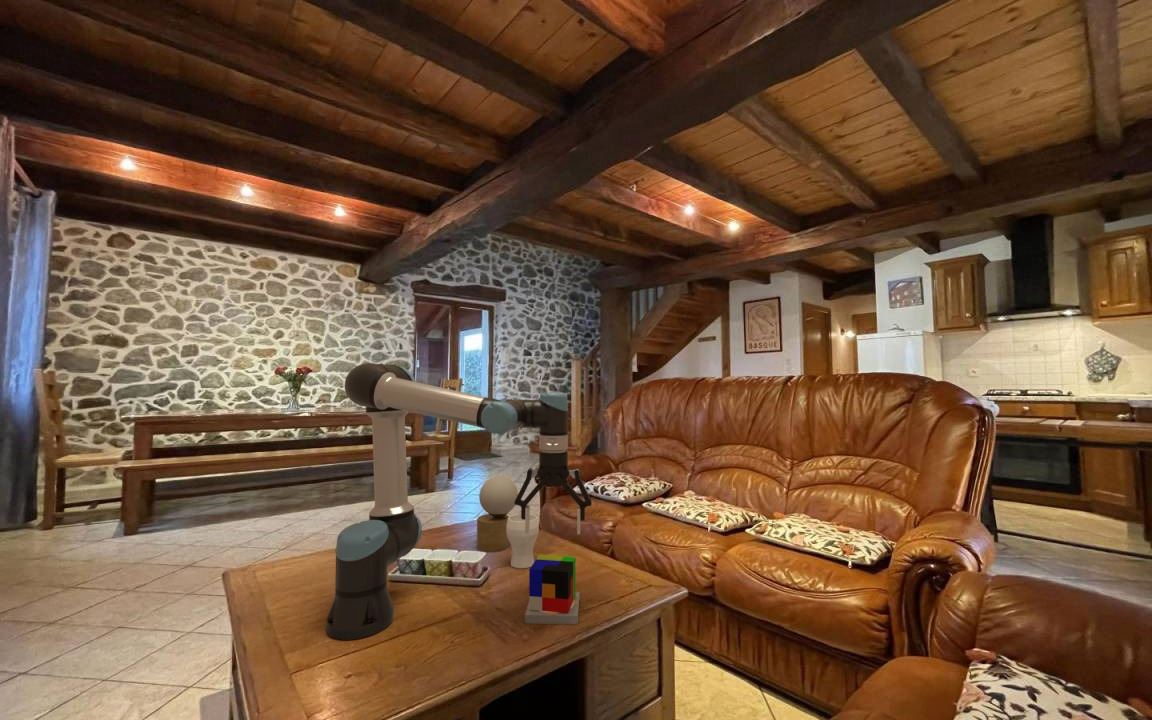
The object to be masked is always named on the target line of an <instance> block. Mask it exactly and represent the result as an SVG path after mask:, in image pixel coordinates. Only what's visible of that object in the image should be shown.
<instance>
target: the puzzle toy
mask: <svg viewBox="0 0 1152 720" xmlns="http://www.w3.org/2000/svg"><path fill="white" fill-rule="evenodd" d="M576 558H577V557H576V556H563V555H548V554H539V555H538V557H537V558H536V559H535V560H534V563H533V565H532V566H531V567H529V573H528V574H529V578H528V579H529V580H528V581H529V585H528V587H529V588H528V590H529V592H528V596H529V597H528V598H529V599H528V603H529V610H537V611H548V612H559V613H569V610H570V608H571V605H572V603H573V600H574V598H575V596H576V592H577V591H576V589H577V588H576V585H577V584H576V581H577V580H576V577H577V576H576V575H577V573H576V570H577V568H576V567H577V563H576V562H577V561H576Z"/></svg>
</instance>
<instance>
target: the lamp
mask: <svg viewBox="0 0 1152 720" xmlns="http://www.w3.org/2000/svg"><path fill="white" fill-rule="evenodd" d="M518 494H519V491H518V488H517V485H516V483H515V482H513V480H511V479H510V477H509V478H508V477H506V476H502V475H497V476H492V477H490V478H489V479H487V480H485V482H484V483H483V484H482V487H481V488H480V490H479V495H478V498H479V503H480V506H481V508H482V509H483V510H484V512H486V513H487V514H482V515H479V516H478V517H477V518H476V549H477V551H479V552H482V551H484V552H483V553H497V552H501V551H503V550H506V549H507V548H508V547H509V540H508V536H507V532H506V526H507V521H508V518H509V516H508V514H509V513H510V512H511V511H512V510H513V509H515V507H516V505H515V504H514V502H515V500H516V498H517V496H518Z"/></svg>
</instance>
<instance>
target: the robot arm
mask: <svg viewBox="0 0 1152 720" xmlns="http://www.w3.org/2000/svg"><path fill="white" fill-rule="evenodd" d="M344 392H345V394H346V396H347V398H348V399H349V400H350V401H351V402H352V403H354V404H355V405H357V406H359V407H365V414H366V415H367V416H368V417H369V418H371V422H372V423H371V426H372V429H371V430H372V451H373V452H372V455H373V456H372V457H373V459H372V460H373V483H374V484H373V487H374V488H373V489H374V490H373V491H374V507H373V508H371V510H370V511H369V512H368V515H369V516H368V517H369V518H368V519H369V520H368V519H367V520H363V521H360V522H356V523H353V524H350V525H349V526H347V527H344V529H342V530H341V531H340V532H339V534H338V535H337V538H336V545H335V546H336V547H335V579H334V580H335V582H334V583H335V585H334V587H335V591H334V593H335V594H334V599H333V601H332V604H331V606H330V609H329V612H328V615H327V618H326V622H325V633H326V635H327V634H328V635H329V636H330V637H329V636H328V635H327V636H328V637H329V638H331V637H332V638H331V639H334V638H335V640H339V641H343V640H344V641H348V640H349V641H350V640H351V641H352V640H358V639H362V638H367V637H369V636H373V635H375V634H377V633H380V632H382V631H383V630H385V629H386V628H388V627H389V626H390V625H391V624H392V623H393V621H394V615H395V610H394V609H395V607H394V604H393V601H392V599H391V595H390V592H389V590H388V567H389V566H392V564H394V563H395V562H397V561H398V560H399V559H401V558H402V557H405V556H406V555H408V554H409V553H411V551H412V550H413V549H414V548H415V547H416V546H417V545H418V544H419V541H420V539H421V537H422V532H423V529H422V528H423V526H422V523H421V519H420V517H418V516H417V513H415V508H414V505H413V504H412V503H411V502H409V495H408V494H409V493H408V473H407V472H408V471H407V446H406V445H407V444H406V443H407V442H406V440H407V439H406V416H407V415H408V414H409V413H413V414H418V415H419V414H420V415H423V416H429V417H432V418H436V419H441V420H445V421H446V420H447V421H450V422H455V423H459V424H463V425H468V426H473V427H478V428H481V429H485V430H486V431H487V432H489V433H490V434H494V435H498V434H499V435H503V434H507V433H508V432H511V431H513V430H516V429H523V428H527V429H531V428H532V429H533V428H534V429H539V450H540V452H538V453H539V456H538V457H539V458H538V460H539V462H538V463H539V464H538V469H534V468H532V467H530V468H528V469H527V471H526V478H525V480H524V482H523V484H522V485H521V487H520V490H519V491H518V496H517V498H516V500H515V502H514V504H515V506H519V507H520V510H521V511H520V514H521V518H522V520H525V533H526V534H528V532H529V518H530V514H531V513H530V510H531V509H530V508H531V507H530V505H529V503H530V502H531V501H532V500H533V498H534V497H535V496H536V494H537V493H539V491H540V490H541V489H542V488H543V487H544V486H545V487H546V488H551V487H552V488H553V487H555V488H560V487H563V489H565V490H566V492H567V493H568V494H569V495H570V496H571V498H572V499H573V500H574V502H575V503H576V504H577V509H576V511H577V512H576V513H577V515H576V516H577V518H576V521H577V524H576V533H577V534H576V535H581V521H585V518H586V516H585V515H586V508H587V507H591V506H592V503H593V502H592V499H591V497H590V495H589V493H588V490H587V489H586V488H587V487H585V484H584V482H583V480H582V478H581V474H580V469H579V468H575V469H569V466H568V465H569V463H568V462H569V461H568V460H569V459H568V455H569V453H568V449H569V447H568V446H569V440H568V439H569V433H568V432H569V408H568V407H569V405H568V395H567V394H566V393H564V392H542V393H540V394H539V398H538V399H512V398H508V399H507V398H506V399H496V398H492V397H486V396H481V395H478V394H472V393H468V392H463V391H459V390H454V389H450V388H444V387H441V386H436V385H431V384H428V383H427V384H426V383H423V382H417V381H416V379H415V377H414V375H413V373H412V372H411V371H409V369H407V368H405V367H404V366H399V365H397V364H390V363H389V364H385V363H376V362H375V363H371V362H367V363H366V362H365V363H362V364H359V365H356V366H355V367H353V368H352V369H351V370H350V371H349V372H348V374H347V375H346V378H345V380H344ZM536 475H537V476H538V478H539V479H540V481H539V482H538V483H537V484H536V485H535V487H533V489H532V490H531V492H529V494H528V495H527V496H526V497H525V498H524V499H523V500H522V498H523V497H524V494H525V492H526V491H527V488H528V486H529V484H530V483H531V480H532V479H533V478H535V476H536ZM569 476H571V478H572V479H575V482H576V484H577V487H578V488H579V490H580V492H581V495H582V496H583V499H582V498H581V496H580V495H579V494H578V492H576V491H575V490H576V489H574V488H573V486H571V485H572V484H570V483H569V482H568V480H567V479H568V478H569ZM366 636H367V637H366ZM340 639H341V640H340Z"/></svg>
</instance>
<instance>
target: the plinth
mask: <svg viewBox="0 0 1152 720" xmlns="http://www.w3.org/2000/svg"><path fill="white" fill-rule="evenodd" d="M579 610H580V591H576V596H575V598H574V600H573V603H572V605H571V608H570V610H569V613H559V612H548V611H537V610H529V602H528V604H527V607H526V610H525V613H524V624H534V625H537V624H538V625H539V624H540V625H541V624H542V625H543V624H544V625H545V624H547V625H548V624H549V625H553V624H554V625H578V623H579Z"/></svg>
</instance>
